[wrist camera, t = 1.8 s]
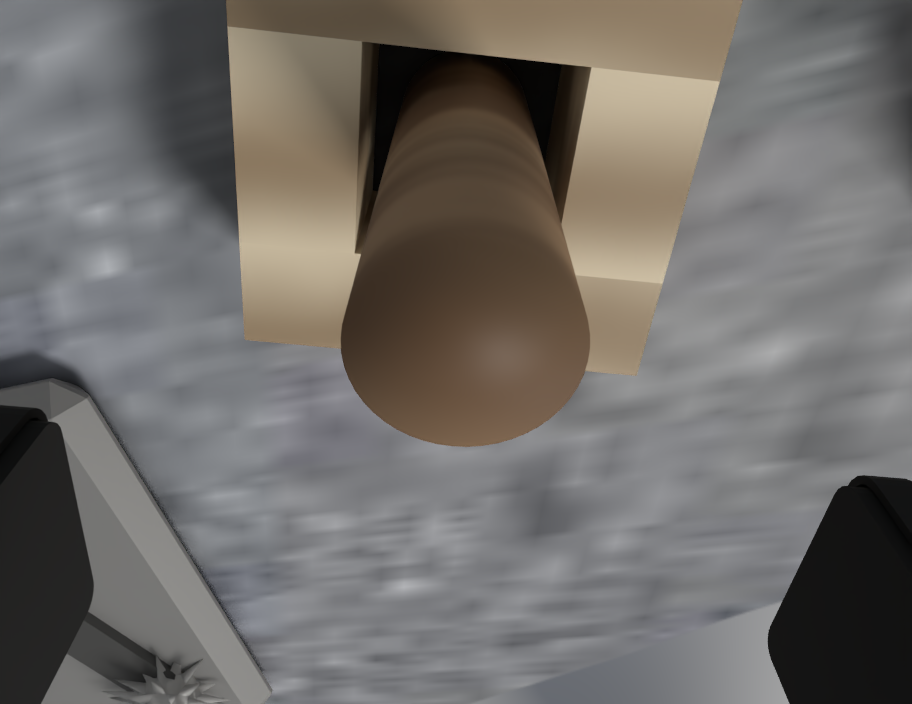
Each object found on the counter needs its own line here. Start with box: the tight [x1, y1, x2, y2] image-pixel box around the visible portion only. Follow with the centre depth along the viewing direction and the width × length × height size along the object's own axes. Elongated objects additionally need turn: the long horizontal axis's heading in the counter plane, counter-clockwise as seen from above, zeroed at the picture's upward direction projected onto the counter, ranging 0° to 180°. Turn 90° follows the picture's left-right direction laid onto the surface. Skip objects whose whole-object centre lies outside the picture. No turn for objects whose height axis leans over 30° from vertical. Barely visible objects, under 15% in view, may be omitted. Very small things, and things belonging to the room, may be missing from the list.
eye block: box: [226, 0, 743, 376], centre depth 22 cm, size 12×12×5 cm
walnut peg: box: [341, 51, 590, 447], centre depth 18 cm, size 4×4×14 cm
